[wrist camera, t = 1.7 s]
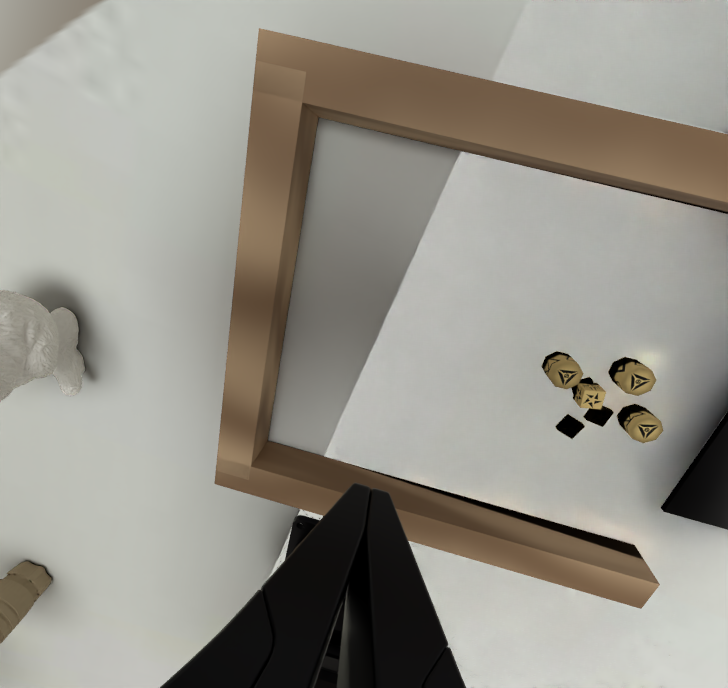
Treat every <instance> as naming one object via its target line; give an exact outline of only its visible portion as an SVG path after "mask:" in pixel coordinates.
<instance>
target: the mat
mask: <svg viewBox="0 0 728 688" xmlns="http://www.w3.org/2000/svg"><path fill="white" fill-rule="evenodd" d="M661 509H662V510H663V512H666V513H670V514H674V515H677V516H681V517H684V518H688V519H692V520H695V521H699V522H702V523H706V524H709V525H713V526H717V527H720V528H724V529H727V530H728V411H727V413H726V414H725V416H724V417H723V418H722V420H721V421H720V423H719V424H718V426H717V427H716V429H715V430H714V431H713V433H712V434H711V436H710V437H709V439H708V440H707V441H706V443H705V444H704V446H703V447H702V449H701V450H700V452H699V453H698V454H697V456H696V457H695V459H694V460H693V462H692V463H691V464H690V466H689V467H688V469H687V470H686V472H685V473H684V475H683V476H682V477H681V479H680V480H679V482H678V483H677V485H676V486H675V487H674V489H673V490H672V492H671V493H670V495H669V496H668V498H667V499H666V500H665V502H664V503H663V505H662V506H661Z"/></svg>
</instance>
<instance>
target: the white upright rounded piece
mask: <svg viewBox="0 0 728 688" xmlns="http://www.w3.org/2000/svg"><path fill="white" fill-rule="evenodd" d="M78 332H79V328H78V323H77V319H76V317H75V315H74V313H73V312H71V311H70V310H68V309H67V308H64V307H60V308H58V309H55V310H53V311H52V312H51V313H49V312H48V310H47V309H46V308H45V307H43V305H42V304H40V303H39V302H37V301H35V300H34V299H32V298H30V297H27V296H23V295H21V294H18V293H16V292H9V291H4V290H3V291H1V290H0V402H1V401H2V400H4V399H5V398H6V397H7V396H8V395H9V394H10V393H11V392H12V390H13V389H14V388H17V387H19V386H20V385H24V384H26V383H28V382H29V381H32V380H33V379H35V378H43V377H46V376H48V375H50V374H53V375H54V376H55V377H56V379H57V380H58V383H59V385H60V388H61V390H62V391H63V393H64V394H65V395H68V396H72V395H75V394H77V393H78V392H79V391H80V389H81V387H82V386H81V385H82V374H83V373H84V371H85V365H84V359H83V357H82V355H81V353H80V352H79V351H78V350H77V349H76V346H77V344H78Z"/></svg>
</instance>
